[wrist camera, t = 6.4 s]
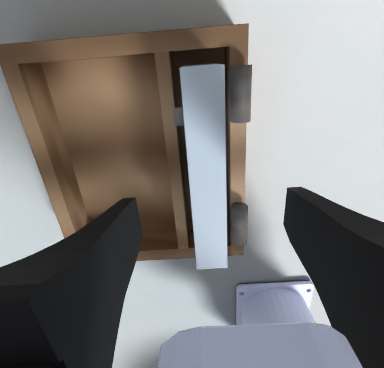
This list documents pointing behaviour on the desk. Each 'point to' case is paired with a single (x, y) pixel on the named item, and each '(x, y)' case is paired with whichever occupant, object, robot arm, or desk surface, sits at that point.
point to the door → (206, 158)
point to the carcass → (129, 127)
